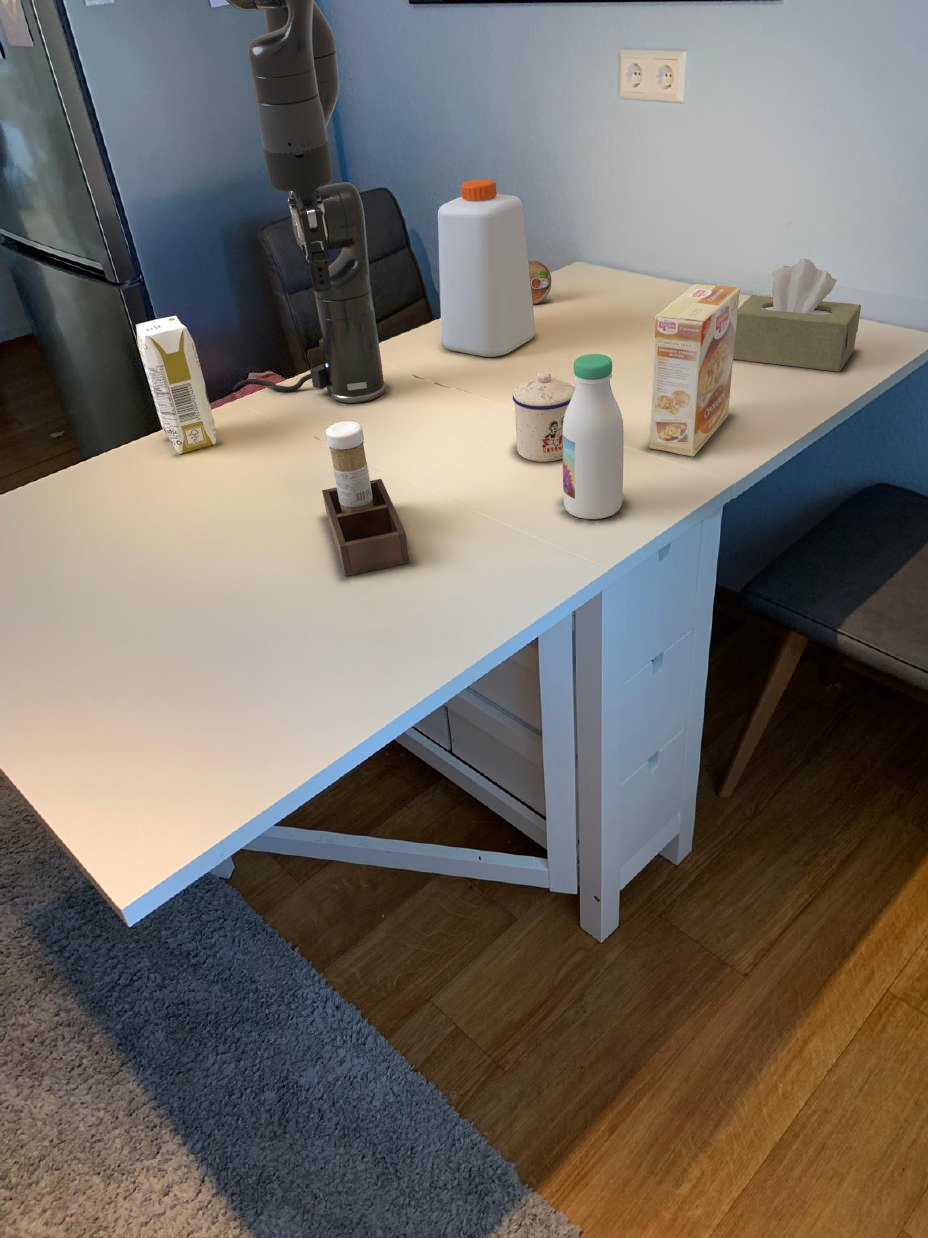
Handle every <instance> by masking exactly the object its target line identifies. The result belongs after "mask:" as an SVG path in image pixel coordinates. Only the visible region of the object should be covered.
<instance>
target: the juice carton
mask: <svg viewBox="0 0 928 1238" xmlns="http://www.w3.org/2000/svg"><path fill="white" fill-rule="evenodd" d="M135 327H136V338H137V339H136V340H137V347H138V350H139V354H140V357H141V361H142V364H143V368H144V371H145V374H146V378H147V382H148V386H149V388H150V392H151V395H152V399H153V402H154V405H155V409H156V413H157V416H158V420H159V423H160V425H161V428H162V430H163V432H164V433H165V435H166V437H167V438H168V439H169V441H170V442H171V444H172V446H173V447H174V449H175V450H176V452H177V453H178V454H185V453H189V452H192V451H195V450H196V451H197V450H199V449H203V448H207V447H211V446H214V445H216V444H217V431H216V423H215V418H214V414H213V409H212V406H211V403H210V399H209V395H208V391H207V387H206V383H205V379H204V375H203V372H202V367H201V363H200V360H199V356H198V352H197V348H196V344H195V341H194V339H193V337H192V336H191V333H190V331H189V330H188V328H187V326H185V325H184V324H182V322H181V321H180V319H179V318H178V316H177V315H173V316H172V315H171V316H167V317H162V318H157V319H153V320H149V321H144V322H141V323H137V324H135Z"/></svg>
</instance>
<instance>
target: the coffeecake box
mask: <svg viewBox="0 0 928 1238" xmlns="http://www.w3.org/2000/svg"><path fill="white" fill-rule="evenodd" d="M740 293H741V288H740V287H734V286H728V285H727V286H726V285H714V284H713V285H712V284H703V283H694V284H693V285H692V286H690V287H689V288H688V289H687V290H685V291H684V292H682V293H681V295H679V296H678V297H677V298H675V300H673V301H671V302H670V303H669V304H668V305H667V306H666V307H664V308H663V309H662V310H660V312H658V313H656V315H655V316H654V319H655V324H654V346H653V347H654V348H653V369H652V392H651V414H650V415H651V416H650V434H649V435H650V436H649V449H652V450H656V451H657V450H658V451H664V452H669V453H673V454H678V455H683V456H687V457H688V456H689V457H695V456H696V455H697V453H699V451H700V450H701V449H702V448H703V446H704V445H705V444H706V443H707V442H708V441H709V439H710V438H711V437H712V436H713V435H714V434H715V432H716V431H717V430H718V428H719V427H721V425H722V424H723V423H724V421H726V419H727V418H728V417H729V407H730V395H731V387H732V386H731V385H732V376H733V375H732V374H733V364H734V362H733V361H734V359H733V354H734V344H735V334H736V324H737V314H738V309H739V304H740V303H739V301H740Z"/></svg>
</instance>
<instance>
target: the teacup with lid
mask: <svg viewBox="0 0 928 1238" xmlns="http://www.w3.org/2000/svg"><path fill="white" fill-rule="evenodd" d="M574 390H575V386H574V385H573V384H572V383H570V382H568V381H566V380H562V379H557V378H554V377H552V374H551V373H550V372H549V371H541V372H538V373H537V374H536V378H534V379H532V380H529V381H526V382H524V383H521V384H520V385H518V386H517V387H516V388H515V389H514V391H513V394H512V401H513V403H514V414H515V415H514V418H515V436H516V437H515V438H516V439H515V440H516V451H517V453H518V455H520V456H521V457H522V458H524V459H526V460H529V461H533V462H542V463H544V462H546V463H547V462H555V461H559V460H563V451H562V437H563V421H564V416H565V413H566V410H567V407H568V405H569V403H570V401H571V399H572V396H573V393H574Z"/></svg>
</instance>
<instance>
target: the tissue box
mask: <svg viewBox="0 0 928 1238" xmlns="http://www.w3.org/2000/svg"><path fill="white" fill-rule="evenodd" d="M837 282H838V279H836V278H834V277H833V276H832V274H831V273H829V272H828V271H827V270H822V269H819V268H817V267H816V265H815V263H814V262H813V261H811V259H808V258H801V259H799V261H798V262H797V263H795V264H793V265H782V266H779V267H778V269H777V270H775V271H772V288H771V293H772V296H768V295H756V294H751V295H750V296H749V297H748V298H747V299H746V300H745V302H743V303H742V304H741V305H740V307H738V314H737V324H736V334H735V344H734V354H733V360H735V361H736V360H737V361H744V362H754V363H761V364H769V365H778V366H787V367H795V368H803V369H812V370H819V371H829V372H837V373H839V372H841V371H842V369H843V367H844V366H845V365H846V363H847V362H848V360H849V358H850V357H851V355H852V354H853V352H854V350H855V344H856V339H857V333H858V331H859V324H860V316H861V309H862V305H861V304H859V303H850V302H849V303H847V302H837V301H836V302H835V301H824V299H825V298H827V296H829V295H830V294H831V292H832V291H833V289H834V288H835V285H836V283H837Z"/></svg>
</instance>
